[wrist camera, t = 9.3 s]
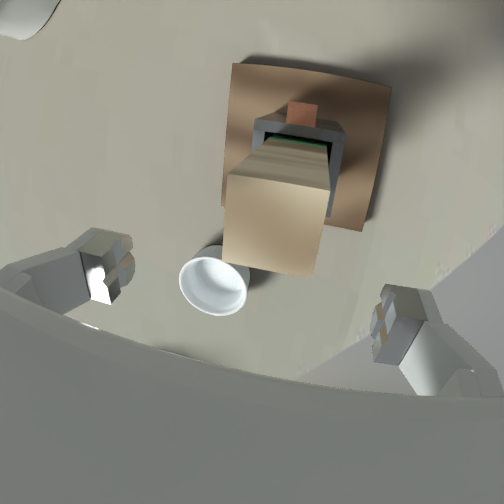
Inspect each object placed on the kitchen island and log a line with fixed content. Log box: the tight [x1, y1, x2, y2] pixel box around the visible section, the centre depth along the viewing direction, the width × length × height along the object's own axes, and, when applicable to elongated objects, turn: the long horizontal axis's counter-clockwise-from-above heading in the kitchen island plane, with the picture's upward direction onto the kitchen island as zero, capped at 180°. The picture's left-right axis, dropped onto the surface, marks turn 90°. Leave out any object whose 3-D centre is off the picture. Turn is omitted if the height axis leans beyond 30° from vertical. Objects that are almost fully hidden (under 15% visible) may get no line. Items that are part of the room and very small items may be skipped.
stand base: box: [221, 63, 392, 232], centre depth 31 cm, size 16×16×2 cm
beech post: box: [222, 133, 330, 279], centre depth 19 cm, size 4×4×15 cm
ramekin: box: [179, 245, 250, 316], centre depth 40 cm, size 9×9×4 cm
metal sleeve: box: [251, 101, 346, 218], centre depth 26 cm, size 8×6×10 cm
